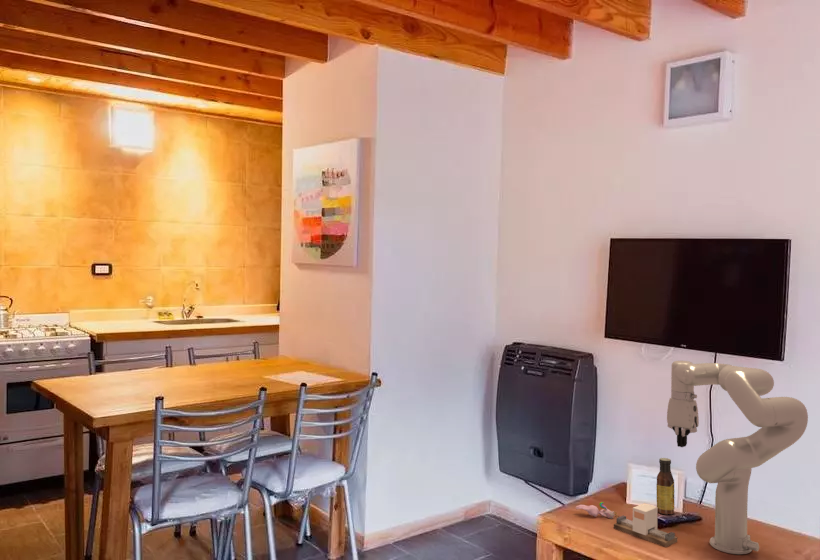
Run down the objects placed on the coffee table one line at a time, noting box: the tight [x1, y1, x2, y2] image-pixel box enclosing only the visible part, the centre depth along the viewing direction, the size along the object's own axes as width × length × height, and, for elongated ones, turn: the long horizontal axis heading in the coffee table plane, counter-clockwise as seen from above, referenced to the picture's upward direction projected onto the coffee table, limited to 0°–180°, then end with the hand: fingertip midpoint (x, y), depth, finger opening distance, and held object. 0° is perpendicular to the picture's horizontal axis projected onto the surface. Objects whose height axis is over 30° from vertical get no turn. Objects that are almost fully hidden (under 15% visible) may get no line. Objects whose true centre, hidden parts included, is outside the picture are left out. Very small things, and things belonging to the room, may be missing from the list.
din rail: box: [615, 515, 676, 541], centre depth 232 cm, size 20×4×2 cm, turn 38°
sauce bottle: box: [656, 457, 675, 515], centre depth 252 cm, size 6×6×20 cm
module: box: [632, 502, 658, 535], centre depth 232 cm, size 5×7×8 cm
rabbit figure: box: [575, 501, 619, 520], centre depth 248 cm, size 6×6×15 cm
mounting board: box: [613, 522, 678, 548], centre depth 232 cm, size 20×7×2 cm, turn 38°
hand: (681, 446), depth 244 cm, fingers closed
